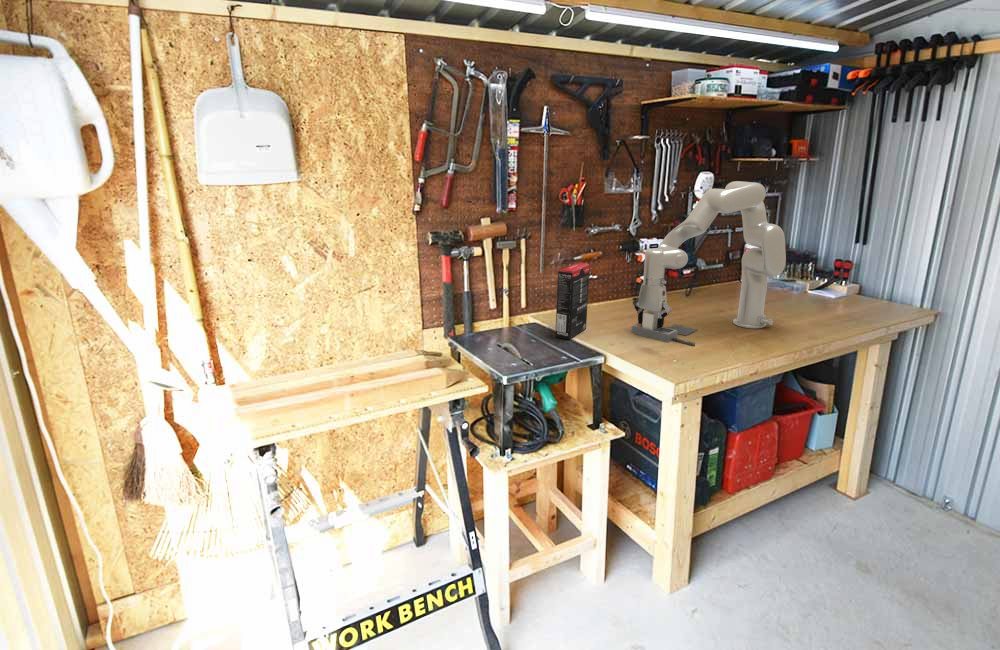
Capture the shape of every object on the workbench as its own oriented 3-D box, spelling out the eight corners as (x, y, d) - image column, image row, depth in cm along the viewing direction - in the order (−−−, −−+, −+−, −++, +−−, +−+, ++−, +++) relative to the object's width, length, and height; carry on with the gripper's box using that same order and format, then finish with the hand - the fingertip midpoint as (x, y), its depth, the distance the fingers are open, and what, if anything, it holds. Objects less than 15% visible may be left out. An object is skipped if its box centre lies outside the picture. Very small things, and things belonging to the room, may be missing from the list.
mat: (698, 330, 219) (698, 329, 219) (685, 336, 213) (685, 335, 213) (675, 325, 226) (675, 324, 226) (662, 330, 220) (662, 329, 220)
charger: (657, 329, 214) (659, 311, 212) (651, 332, 212) (653, 314, 209) (648, 327, 218) (649, 309, 215) (642, 329, 215) (643, 312, 213)
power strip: (699, 343, 204) (700, 334, 203) (690, 348, 200) (691, 338, 198) (641, 329, 222) (642, 320, 221) (631, 333, 217) (632, 324, 216)
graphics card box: (572, 326, 227) (574, 261, 219) (588, 328, 224) (590, 263, 215) (554, 338, 213) (556, 269, 205) (571, 341, 210) (573, 271, 201)
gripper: (679, 283, 205) (675, 327, 210) (639, 276, 217) (636, 318, 223) (668, 286, 200) (665, 332, 206) (628, 279, 212) (626, 322, 218)
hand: (650, 324), depth 214 cm, fingers open, 7 cm apart
